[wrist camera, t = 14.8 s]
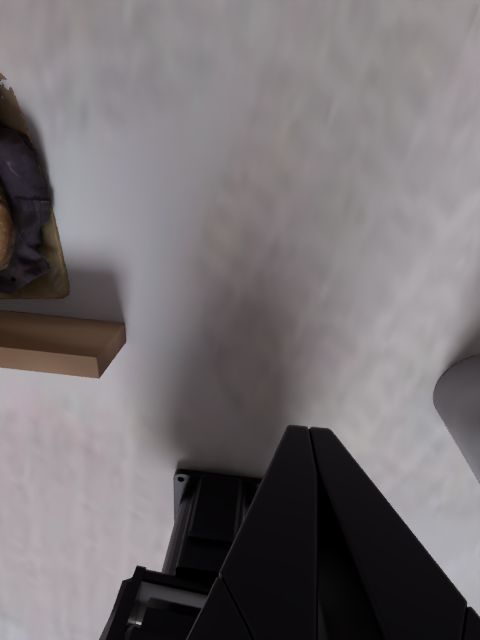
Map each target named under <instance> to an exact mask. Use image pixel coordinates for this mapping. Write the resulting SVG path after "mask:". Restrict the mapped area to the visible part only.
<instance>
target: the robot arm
mask: <svg viewBox="0 0 480 640" xmlns="http://www.w3.org/2000/svg"><path fill="white" fill-rule="evenodd" d="M136 621H137V622H142V624H141V625H138V624H136ZM99 640H480V617H479V616H478V614H477V613H476V612H475V610H474V609H473V608H472V607H467V601H466V599H465V598H464V597H463V596H462V594H461V593H460V592H459V591H458V589H457V588H456V587H455V586H454V584H453V583H452V582H451V581H450V579H449V578H448V577H447V575H446V574H445V573H444V572H443V570H442V569H441V568H440V567H439V565H438V564H437V563H436V562H435V560H434V559H433V558H432V557H431V555H430V554H429V553H428V551H427V550H426V549H425V548H424V546H423V545H422V544H421V543H420V541H419V540H418V539H417V538H416V536H415V535H414V534H413V533H412V531H411V530H410V529H409V527H408V526H407V525H406V524H405V522H404V521H403V520H402V519H401V517H400V516H399V515H398V514H397V512H396V511H395V510H394V509H393V507H392V506H391V505H390V503H389V502H388V501H387V500H386V498H385V497H384V496H383V495H382V493H381V492H380V491H379V490H378V488H377V487H376V486H375V485H374V483H373V482H372V481H371V479H370V478H369V477H368V476H367V474H366V473H365V472H364V471H363V469H362V468H361V467H360V466H359V464H358V463H357V462H356V461H355V459H354V458H353V457H352V456H351V454H350V453H349V452H348V450H347V449H346V448H345V447H344V445H343V444H342V443H341V442H340V440H339V439H338V438H337V437H336V435H335V434H334V433H333V432H332V430H330V429H328V428H319V427H311V428H310V429H308V427H306V426H298V425H289V426H288V427H287V428H286V430H285V432H284V434H283V437H282V439H281V441H280V443H279V445H278V447H277V449H276V452H275V454H274V456H273V458H272V460H271V462H270V464H269V467H268V469H267V471H266V473H265V475H264V477H263V479H256V478H248V477H240V476H232V475H224V474H216V473H208V472H200V471H191V470H183V469H179V470H177V471H176V472H175V475H174V527H173V531H172V534H171V538H170V542H169V546H168V549H167V553H166V557H165V561H164V565H163V568H162V572H156V571H152V570H147V569H146V567H142V566H138V565H137V567H136V569H135V572H134V575H133V577H132V578H130V579H127V580H124V581H122V584H121V587H120V590H119V593H118V596H117V599H116V601H115V604H114V607H113V610H112V612H111V615H110V617H109V619H108V622H107V624H106V626H105V628H104V630H103V632H102V634H101V637H100V639H99Z"/></svg>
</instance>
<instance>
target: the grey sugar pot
mask: <svg viewBox="0 0 480 640" xmlns="http://www.w3.org/2000/svg"><path fill="white" fill-rule="evenodd" d="M433 402H434V406H435V408H436V410H437V412H438V414H439V415H440V417H441V419H442V420H443V422H444V424H445V426H446V427H447V429H448V431H449V432H450V434H451V436H452V438H453V439H454V441H455V443H456V444H457V446H458V448H459V449H460V451H461V453H462V455H463V456H464V458H465V460H466V461H467V463H468V465H469V467H470V468H471V470H472V472H473V473H474V475H475V477H476V478H477V480H478V482H479V484H480V355H476V356H472V357H470V358H467V359H464V360H462V361H460V362H458V363H457V364H455V365H453V366H452V367H451V368H449V369H448V370H447V371H446V372H445V373H444V374H443V375H442V376H441V377H440V379H439V380H438V382H437V384H436V386H435V389H434V393H433Z"/></svg>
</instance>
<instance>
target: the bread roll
mask: <svg viewBox="0 0 480 640" xmlns="http://www.w3.org/2000/svg"><path fill="white" fill-rule="evenodd" d="M2 79H5V80H7V79H6V78H5V77H4V76H3V75H2V74H1V73H0V81H1V80H2ZM1 96H3V98H4V99H2V98H1ZM69 292H70V291H69V284H68V277H67V270H66V265H65V263H64V258H63V252H62V247H61V243H60V238H59V233H58V228H57V225H56V220H55V216H54V212H53V207H52V204H51V199H50V195H49V192H48V188H47V185H46V183H45V180H44V177H43V174H42V171H41V167H40V164H39V161H38V158H37V152H36V149H35V148H34V145H33V143H32V140H31V137H30V134H29V132H28V128H27V125H26V123H25V120H24V118H23V114H22V112H21V111H20V108H19V105H18V102H17V100H16V97H15V95H14V92H13V90H12V88H11V87H10V88H9V90H7V89H6V88H4V84H2V86H1V85H0V299H40V298H64V297H66V296H67V295H68V294H69Z"/></svg>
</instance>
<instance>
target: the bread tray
mask: <svg viewBox="0 0 480 640" xmlns="http://www.w3.org/2000/svg"><path fill="white" fill-rule="evenodd" d="M125 343H126V336H125V325H124V323H116V322H107V321H97V320H87V319H78V318H68V317H59V316H49V315H40V314H30V313H21V312H11V311H1V310H0V367H1V368H10V369H19V370H28V371H37V372H46V373H55V374H64V375H73V376H81V377H90V378H100V377H101V375H102V374H103V373H104V371H105V370H106V369H107V367H108V366H109V364H110V363H111V362H112V360H113V359H114V358H115V356H116V355H117V354H118V352H119V351H120V349H121V348H122V347H123V345H124V344H125Z"/></svg>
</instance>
